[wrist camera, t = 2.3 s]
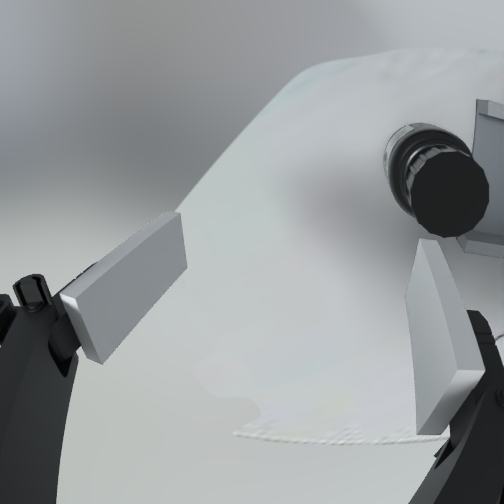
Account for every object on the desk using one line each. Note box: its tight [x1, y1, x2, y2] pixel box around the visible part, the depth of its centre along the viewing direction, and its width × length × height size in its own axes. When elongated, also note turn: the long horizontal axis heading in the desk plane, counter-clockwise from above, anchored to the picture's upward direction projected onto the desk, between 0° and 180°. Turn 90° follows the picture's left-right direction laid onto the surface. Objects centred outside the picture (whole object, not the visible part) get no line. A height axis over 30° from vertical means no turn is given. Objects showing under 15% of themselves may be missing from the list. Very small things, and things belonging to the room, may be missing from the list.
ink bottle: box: [384, 123, 489, 238], centre depth 25 cm, size 10×9×12 cm
